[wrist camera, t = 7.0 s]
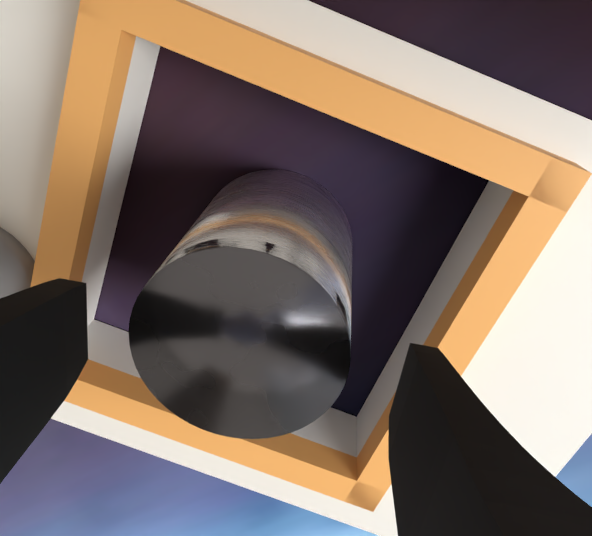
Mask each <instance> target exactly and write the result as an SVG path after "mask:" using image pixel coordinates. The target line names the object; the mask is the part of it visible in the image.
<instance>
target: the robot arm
mask: <svg viewBox="0 0 592 536" xmlns="http://www.w3.org/2000/svg"><path fill="white" fill-rule="evenodd" d="M87 361H88V331H87V288H86V283H83V282H78V281H73V280H67V279H62V278H58V279H54V280H51V281H47V282H44V283H41V284H38V285H36V286H33V287H30V288H27V289H25V290H22V291H19V292H16V293H14V294H11V295H8V296H6V297H3V298H0V484H1V482H2V481H3V479H4V478H5V477H6V475H7V474H8V473H9V471H10V470H11V469H12V468H13V466H14V465H15V464H16V462H17V461H18V460H19V459H20V457H21V456H22V455H23V453H24V452H25V451H26V450H27V448H28V447H29V446H30V444H31V443H32V442H33V441H34V439H35V438H36V437H37V435H38V434H39V433H40V432H41V430H42V429H43V428H44V426H45V425H46V424H47V423H48V421H49V420H50V419H51V417H52V416H53V415H54V413H55V412H56V411H57V409H58V408H59V407H60V406H61V404H62V403H63V401H64V400H65V399H66V397H67V396H68V394H69V393H70V391H71V389H72V387H73V386H74V384H75V382H76V381H77V379H78V377H79V375H80V373H81V372H82V370H83V368H84V366H85V364H86V362H87ZM388 458H389V467H390V476H391V484H392V493H393V501H394V509H395V516H396V525H397V533H398V536H592V507H591V506H589V505H588V504H587V503H585V502H584V501H583V500H582V499H580V498H579V497H578V496H577V495H575V494H574V493H573V492H572V491H571V490H569V489H568V488H567V487H566V486H565V485H563V484H562V483H561V482H560V481H559V480H558V479H557V478H556V477H555V476H553V475H552V474H551V473H550V472H549V471H548V470H547V469H546V468H545V467H544V466H542V465H541V464H540V463H539V462H538V461H537V460H536V459H535V458H534V457H533V456H532V455H531V454H530V453H529V452H528V451H526V450H525V449H524V448H523V447H522V446H521V445H520V443H519V442H518V441H517V440H516V439H515V438H514V437H513V436H512V435H511V434H510V433H509V432H508V431H507V430H506V429H505V428H504V427H503V426H502V424H501V423H500V422H499V421H498V420H497V419H496V418H495V417H494V416H493V414H492V413H491V412H490V411H489V410H488V409H487V407H486V406H485V405H484V404H483V403H482V402H481V400H480V399H479V398H478V397H477V396H476V394H475V393H474V392H473V391H472V389H471V388H470V387H469V386H468V385H467V383H466V382H465V381H464V380H463V378H462V377H461V376H460V374H459V373H458V372H457V371H456V369H455V368H454V367H453V366H452V364H451V363H450V362H449V360H448V359H447V358H446V357H445V355H444V354H443V353H442V352H441V351H440V350H439V348H436V347H430V346H425V345H419V344H414V343H410V345H409V348H408V352H407V355H406V359H405V362H404V365H403V369H402V372H401V376H400V379H399V383H398V386H397V390H396V393H395V397H394V400H393V403H392V407H391V410H390V414H389V436H388Z"/></svg>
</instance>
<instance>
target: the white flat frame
mask: <svg viewBox="0 0 592 536" xmlns="http://www.w3.org/2000/svg"><path fill="white" fill-rule="evenodd" d="M160 46H162V47H165V48H167V49H170V50H172V51H174V52H177V53H179V54H182V55H184V56H187V57H189V58H191V59H194V60H196V61H199V62H201V63H204V64H206V65H209V66H211V67H213V68H216V69H218V70H221V71H223V72H226V73H228V74H231V75H233V76H235V77H238V78H240V79H243V80H245V81H248V82H250V83H253V84H255V85H257V86H260V87H262V88H265V89H267V90H270V91H272V92H275V93H277V94H279V95H282V96H284V97H287V98H289V99H292V100H294V101H297V102H299V103H301V104H304V105H306V106H309V107H311V108H314V109H316V110H318V111H321V112H323V113H326V114H328V115H331V116H333V117H336V118H338V119H340V120H343V121H345V122H348V123H350V124H353V125H355V126H358V127H360V128H362V129H365V130H367V131H370V132H372V133H375V134H377V135H380V136H382V137H384V138H387V139H389V140H392V141H394V142H397V143H399V144H402V145H404V146H406V147H409V148H411V149H414V150H416V151H419V152H421V153H424V154H426V155H428V156H431V157H433V158H436V159H438V160H441V161H443V162H446V163H448V164H450V165H453V166H455V167H458V168H460V169H463V170H465V171H467V172H470V173H472V174H475V175H477V176H480V177H482V178H485V179H487V180H489V182H488V183H487V185H486V187H485V189H484V191H483V192H482V194H481V196H480V198H479V199H478V201H477V203H476V205H475V207H474V208H473V210H472V212H471V214H470V216H469V217H468V219H467V221H466V223H465V224H464V226H463V228H462V230H461V232H460V233H459V235H458V237H457V239H456V241H455V242H454V244H453V246H452V248H451V249H450V251H449V253H448V255H447V257H446V258H445V260H444V262H443V264H442V265H441V267H440V269H439V271H438V273H437V274H436V276H435V278H434V280H433V282H432V283H431V285H430V287H429V289H428V290H427V292H426V294H425V296H424V298H423V299H422V301H421V303H420V305H419V307H418V308H417V310H416V312H415V314H414V315H413V317H412V319H411V321H410V323H409V324H408V326H407V328H406V330H405V332H404V333H403V335H402V337H401V339H400V340H399V342H398V344H397V346H396V348H395V349H394V351H393V353H392V355H391V356H390V358H389V360H388V362H387V364H386V365H385V367H384V369H383V371H382V373H381V374H380V376H379V378H378V380H377V381H376V383H375V385H374V387H373V389H372V390H371V392H370V394H369V396H368V398H367V399H366V401H365V403H364V405H363V406H362V408H361V410H360V412H359V414H358V415H357V417H356V416H353V415H350V414H348V413H345V412H342V411H340V410H337V409H334V408H331V407H330V408H329V409H328V410H327V411H326V412H325V413H324V414H323V415H322V416H320V417H319V418H318V419H317V420H315V421H314V422H312V423H310V424H309V425H307V426H305V427H303V428H301V429H299V430H297V431H294V432H292V433H288V434H285V435H282V436H277V437H271V438H263V439H240V438H232V437H226V436H222V435H218V434H214V433H211V432H208V431H205V430H203V429H200V428H198V427H196V426H194V425H192V424H189V423H188V422H186V421H184V420H183V419H181V418H179V417H178V416H176V415H175V414H174V413H172V412H171V411H170V410H168V409H167V408H166V407H165V406H164V405H163V404H162V403H160V402H159V401H158V400H157V399H156V397H155V396H154V395H153V394H152V393H151V392H150V391H149V389H148V388H147V386H146V385H145V383H144V382H143V380H142V379H141V377H140V375H139V373H138V371H137V369H136V367H135V364H134V361H133V358H132V355H131V350H130V345H129V332H127V331H124V330H121V329H119V328H116V327H113V326H111V325H108V324H105V323H102V322H100V321H97V320H94V317H95V313H96V309H97V305H98V301H99V296H100V292H101V288H102V284H103V280H104V276H105V272H106V268H107V264H108V259H109V255H110V251H111V247H112V243H113V239H114V235H115V231H116V226H117V222H118V218H119V214H120V210H121V206H122V202H123V198H124V194H125V189H126V185H127V181H128V177H129V173H130V169H131V165H132V161H133V156H134V152H135V148H136V144H137V140H138V136H139V132H140V128H141V124H142V119H143V115H144V111H145V107H146V103H147V99H148V95H149V91H150V86H151V82H152V78H153V74H154V70H155V66H156V62H157V58H158V54H159V49H160ZM58 278H62V279H67V280H73V281H78V282H83V283H86V288H87V331H88V361H87V362H86V364H85V366H84V368H83V370H82V372H81V373H80V375H79V377H78V379H77V381H76V382H75V384H74V386H73V387H72V389H71V391H70V393H69V394H68V396H67V397H66V399H65V400H64V401H63V403H62V404H61V406H60V407H59V408H58V409H57V411H56V412H55V413H54V415H53V416H52V417H51V419H54V420H57V421H60V422H62V423H65V424H68V425H71V426H74V427H76V428H79V429H82V430H85V431H88V432H90V433H93V434H96V435H99V436H102V437H104V438H107V439H110V440H113V441H116V442H118V443H121V444H124V445H127V446H130V447H132V448H135V449H138V450H141V451H144V452H146V453H149V454H152V455H155V456H158V457H160V458H163V459H166V460H169V461H172V462H174V463H177V464H180V465H183V466H186V467H188V468H191V469H194V470H197V471H200V472H202V473H205V474H208V475H211V476H214V477H216V478H219V479H222V480H225V481H228V482H231V483H233V484H236V485H239V486H242V487H245V488H247V489H250V490H253V491H256V492H259V493H261V494H264V495H267V496H270V497H273V498H275V499H278V500H281V501H284V502H287V503H289V504H292V505H295V506H298V507H301V508H303V509H306V510H309V511H312V512H315V513H317V514H320V515H323V516H326V517H329V518H331V519H334V520H337V521H340V522H343V523H345V524H348V525H351V526H354V527H357V528H359V529H362V530H365V531H368V532H371V533H373V534H376V535H379V536H398V533H397V525H396V516H395V509H394V501H393V493H392V484H391V476H390V467H389V458H388V436H389V414H390V410H391V407H392V403H393V400H394V397H395V393H396V390H397V386H398V383H399V379H400V376H401V372H402V369H403V365H404V362H405V359H406V355H407V352H408V348H409V345H410V343H414V344H419V345H425V346H430V347H436V348H439V350H440V351H441V352H442V353H443V354H444V355H445V357H446V358H447V359H448V360H449V362H450V363H451V364H452V366H453V367H454V368H455V369H456V371H457V372H458V373H459V374H460V376H461V377H462V378H463V380H464V381H465V382H466V383H467V385H468V386H469V387H470V388H471V389H472V391H473V392H474V393H475V394H476V396H477V397H478V398H479V399H480V400H481V402H482V403H483V404H484V405H485V406H486V407H487V409H488V410H489V411H490V412H491V413H492V414H493V416H494V417H495V418H496V419H497V420H498V421H499V422H500V423H501V424H502V426H503V427H504V428H505V429H506V430H507V431H508V432H509V433H510V434H511V435H512V436H513V437H514V438H515V439H516V440H517V441H518V442H519V443H520V445H521V446H522V447H523V448H524V449H525V450H526V451H528V452H529V453H530V454H531V455H532V456H533V457H534V458H535V459H536V460H537V461H538V462H539V463H540V464H541V465H542V466H544V467H545V468H546V469H547V470H548V471H549V472H550V473H551V474H552V475H553V476H555V477H556V475H557V474H558V473H559V472H560V471H561V469H562V468H563V467H564V466H565V465H566V463H567V462H568V461H569V460H570V459H571V457H572V456H573V455H574V454H575V453H576V451H577V450H578V449H579V448H580V447H581V445H582V444H583V443H584V442H585V441H586V439H587V438H588V437H589V436H590V435H591V433H592V120H590V119H587V118H585V117H582V116H580V115H578V114H575V113H573V112H571V111H568V110H566V109H564V108H561V107H559V106H556V105H554V104H552V103H549V102H547V101H545V100H542V99H540V98H538V97H535V96H533V95H530V94H528V93H526V92H523V91H521V90H519V89H516V88H514V87H512V86H509V85H507V84H504V83H502V82H500V81H497V80H495V79H493V78H490V77H488V76H486V75H483V74H481V73H478V72H476V71H474V70H471V69H469V68H467V67H464V66H462V65H460V64H457V63H455V62H452V61H450V60H448V59H445V58H443V57H441V56H438V55H436V54H434V53H431V52H429V51H426V50H424V49H422V48H419V47H417V46H415V45H412V44H410V43H408V42H405V41H403V40H400V39H398V38H396V37H393V36H391V35H389V34H386V33H384V32H382V31H379V30H377V29H374V28H372V27H370V26H367V25H365V24H363V23H360V22H358V21H356V20H353V19H351V18H349V17H346V16H344V15H341V14H339V13H337V12H334V11H332V10H330V9H327V8H325V7H323V6H320V5H318V4H315V3H313V2H311V1H308V0H0V298H3V297H6V296H8V295H11V294H14V293H16V292H19V291H22V290H25V289H27V288H30V287H33V286H36V285H38V284H41V283H44V282H47V281H51V280H54V279H58Z"/></svg>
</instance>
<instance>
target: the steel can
mask: <svg viewBox="0 0 592 536" xmlns="http://www.w3.org/2000/svg"><path fill="white" fill-rule="evenodd" d="M351 296H352V234H351V228H350V225H349V221H348V219H347V216H346V214H345V212H344V210H343V209H342V207H341V205H340V204H339V202H338V201H337V200H336V199H335V197H334V196H333V195H332V194H331V193H330V192H329V191H328V190H327V189H326V188H324V187H323V186H322V185H320V184H319V183H317V182H316V181H314V180H312V179H310V178H308V177H306V176H304V175H301V174H299V173H295V172H291V171H287V170H278V169H269V170H260V171H255V172H251V173H248V174H245V175H243V176H240V177H238V178H236V179H235V180H233V181H232V182H230V183H228V184H227V185H226V186H225V187H224V188H223V189H221V190H220V192H219V193H218V194H217V195H216V196H215V197H214V199H213V200H212V201H211V202H210V204H209V205H208V206H207V207H206V209H205V210H204V211H203V213H202V214H201V215H200V216H199V218H198V219H197V220H196V221H195V223H194V224H193V225H192V227H191V228H190V229H189V230H188V232H187V233H186V234H185V235H184V237H183V238H182V239H181V241H180V242H179V243H178V244H177V246H176V247H175V248H174V249H173V251H172V252H171V253H170V254H169V256H168V257H167V258H166V260H165V261H164V262H163V263H162V265H161V266H160V267H159V268H158V270H157V271H156V272H155V274H154V275H153V276H152V277H151V279H150V280H149V281H148V282H147V284H146V285H145V286H144V288H143V289H142V291H141V293H140V294H139V296H138V297H137V300H136V302H135V304H134V307H133V309H132V313H131V317H130V323H129V345H130V350H131V355H132V358H133V361H134V364H135V367H136V369H137V371H138V373H139V375H140V377H141V379H142V380H143V382H144V383H145V385H146V386H147V388H148V389H149V391H150V392H151V393H152V394H153V395H154V396H155V397H156V399H157V400H158V401H159V402H160V403H162V404H163V405H164V406H165V407H166V408H167V409H168V410H170V411H171V412H172V413H174V414H175V415H176V416H178V417H179V418H181V419H183V420H184V421H186V422H188V423H189V424H192V425H194V426H196V427H198V428H200V429H203V430H205V431H208V432H211V433H214V434H218V435H222V436H226V437H232V438H240V439H263V438H271V437H277V436H282V435H285V434H288V433H292V432H294V431H297V430H299V429H301V428H303V427H305V426H307V425H309V424H310V423H312V422H314V421H315V420H317V419H318V418H319V417H320V416H322V415H323V414H324V413H325V412H326V411H327V410H328V409H329V408H330V407H331V406H332V405H333V403H334V402H335V401H336V399H337V398H338V396H339V395H340V393H341V391H342V389H343V387H344V385H345V382H346V379H347V376H348V373H349V367H350V359H351Z"/></svg>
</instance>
